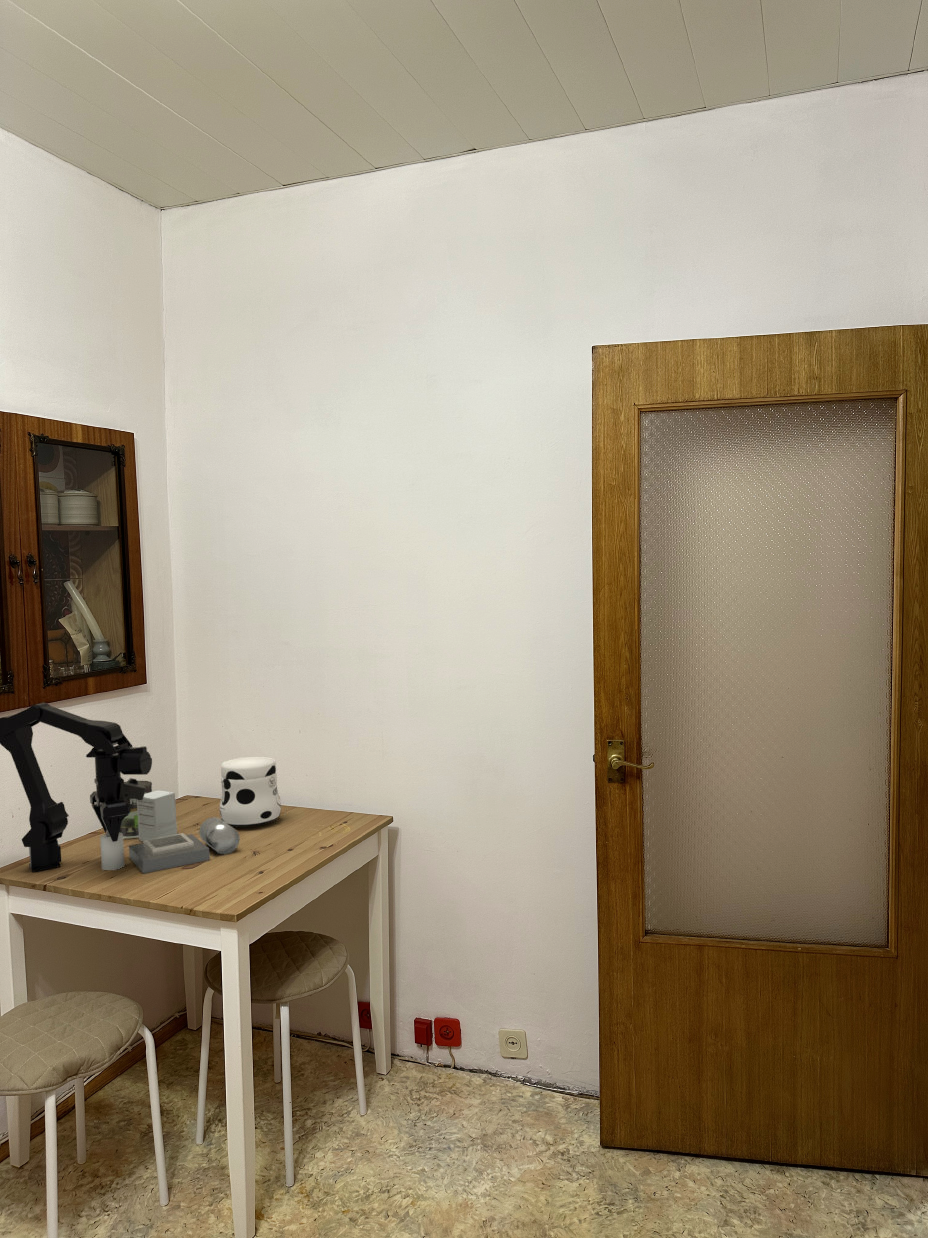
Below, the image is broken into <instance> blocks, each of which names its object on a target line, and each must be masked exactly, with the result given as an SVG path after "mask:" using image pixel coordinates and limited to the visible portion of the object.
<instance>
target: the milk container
mask: <svg viewBox="0 0 928 1238" xmlns="http://www.w3.org/2000/svg"><path fill="white" fill-rule="evenodd" d="M220 765H221V766H220V776H221V778H220V780H221V782H220V783H221V797H220V801H219V816H220V819H221V820H222V821H224V822H225V823H227V824H228V825H230V826H231V827H233V828H234V827H235V828H236V827H237V828H252V827H259V826H264V825H267V824H271V823H273V822H274V821H276V820H277V819H278V818H279V816H280V814H281V810H282V808H281V807H282V802H281V796H280V795H279V790H278V786H277V779H278V777H277V763H276V759H275V758H274V757H270V756H245V757H236V758H232V759H228V760H225V761H222V763H221V764H220Z"/></svg>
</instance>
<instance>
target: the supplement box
mask: <svg viewBox="0 0 928 1238" xmlns="http://www.w3.org/2000/svg"><path fill="white" fill-rule="evenodd" d="M176 810H177V808H176V792H173V791H166V790H158V789H156V790H155V791H154V790H152V792H150V793H146V794H144V797H143V800H137V812H138V830H139V838H138V841H139V842H142V841H143V840H148V839H153V838H159V837H164V836H170V835H175V834H178V827H177V811H176Z"/></svg>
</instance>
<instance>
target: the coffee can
mask: <svg viewBox="0 0 928 1238" xmlns="http://www.w3.org/2000/svg"><path fill="white" fill-rule="evenodd" d="M137 782H138V784H140V785H143V786H144V787H146V791H145V794H146V793H150V792H153V788H152V787H153V786H152V785H153V783H152V781H149V780H137ZM123 800H124V801H126V802H127V803H128V804H129V805H130V813H129V815H128V816H126V817H125V818H124V819H123V820H122V823H121V827H120V831H119V833H123V840H128V839H130V840H131V839H139V830H138V812H137V799H135V798H129V797H125V799H123Z"/></svg>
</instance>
